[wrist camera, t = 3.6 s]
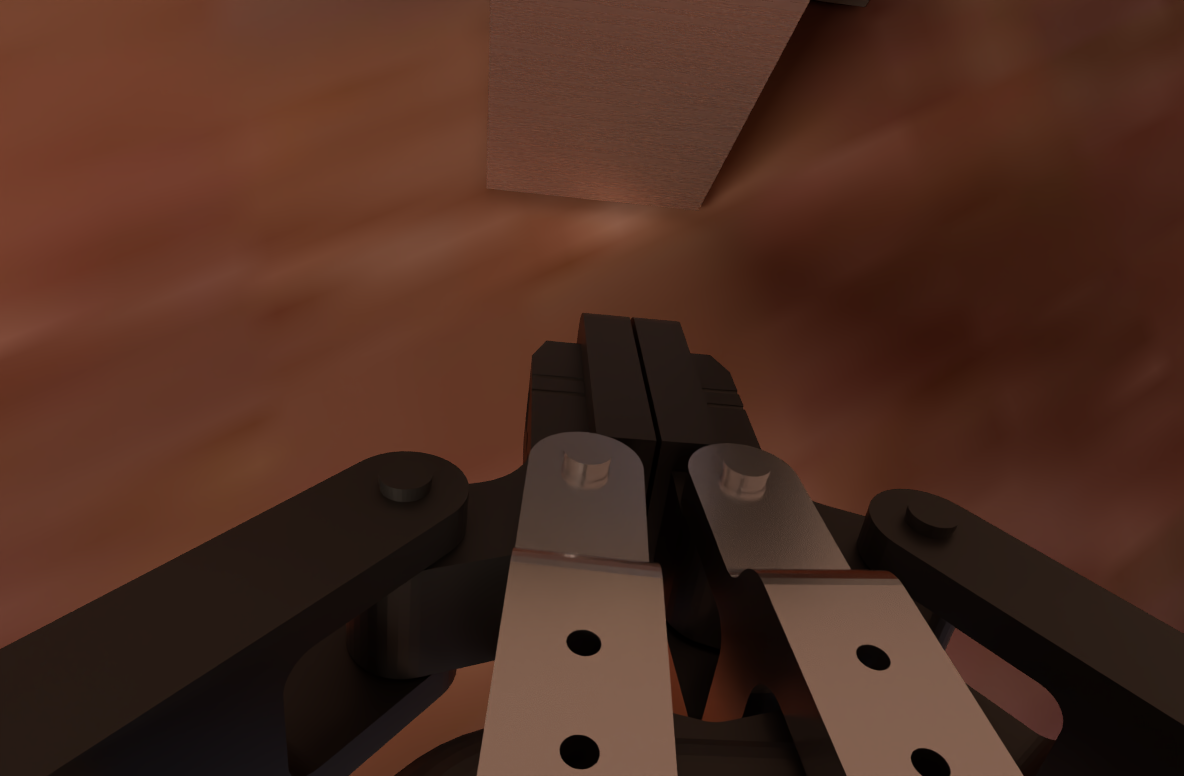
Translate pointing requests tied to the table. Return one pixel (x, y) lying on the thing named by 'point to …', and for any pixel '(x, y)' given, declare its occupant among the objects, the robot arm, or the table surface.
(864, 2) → the socket block
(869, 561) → the robot arm
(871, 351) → the table surface
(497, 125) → the peg
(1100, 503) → the table surface
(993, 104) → the table surface
